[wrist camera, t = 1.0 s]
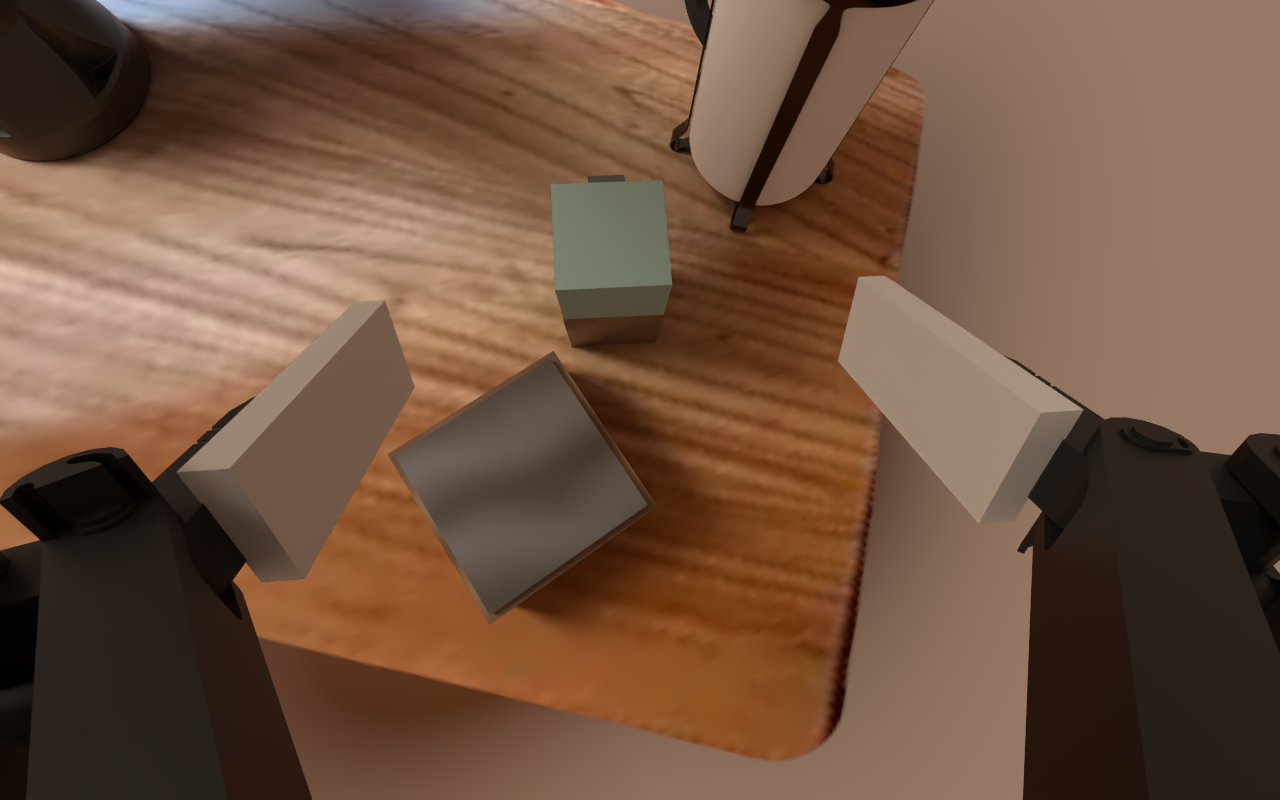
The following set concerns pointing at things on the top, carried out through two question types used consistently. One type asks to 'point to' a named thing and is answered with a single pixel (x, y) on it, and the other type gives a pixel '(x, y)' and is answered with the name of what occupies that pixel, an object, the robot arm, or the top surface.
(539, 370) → the walnut stand
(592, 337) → the base
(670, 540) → the top surface
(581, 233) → the lid
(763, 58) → the coffee press
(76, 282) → the top surface
